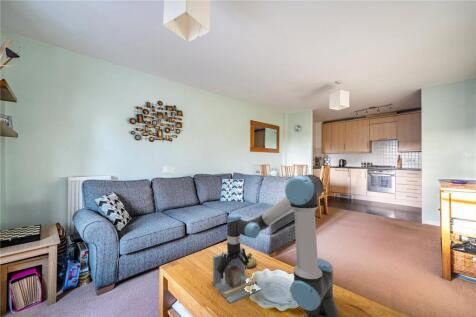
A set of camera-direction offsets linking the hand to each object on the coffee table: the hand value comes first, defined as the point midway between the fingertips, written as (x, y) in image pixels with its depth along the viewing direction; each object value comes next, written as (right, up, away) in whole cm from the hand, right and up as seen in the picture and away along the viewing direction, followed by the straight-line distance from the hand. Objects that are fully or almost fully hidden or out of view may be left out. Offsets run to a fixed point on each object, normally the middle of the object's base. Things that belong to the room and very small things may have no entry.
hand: (233, 279), depth 111 cm
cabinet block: (0, -3, 0) cm, 3 cm away
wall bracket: (+2, -4, -1) cm, 4 cm away
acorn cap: (+10, -4, +23) cm, 26 cm away
